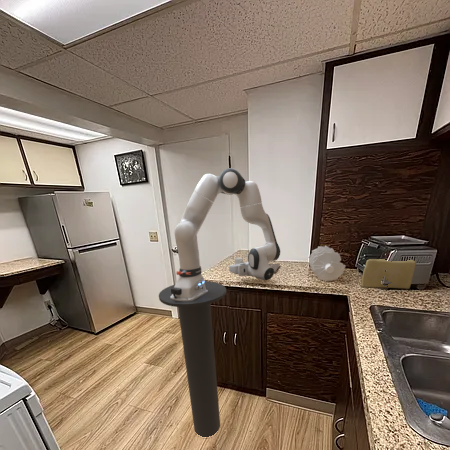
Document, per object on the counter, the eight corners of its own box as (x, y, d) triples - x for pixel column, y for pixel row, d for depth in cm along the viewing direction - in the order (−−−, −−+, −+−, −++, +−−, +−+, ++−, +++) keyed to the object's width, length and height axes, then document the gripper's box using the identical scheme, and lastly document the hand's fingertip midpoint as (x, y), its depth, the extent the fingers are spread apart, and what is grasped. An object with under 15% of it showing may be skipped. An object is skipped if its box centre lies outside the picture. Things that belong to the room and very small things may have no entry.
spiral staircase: (319, 289, 146) (312, 274, 168) (350, 276, 140) (339, 263, 162) (308, 262, 140) (302, 251, 163) (339, 248, 135) (329, 239, 157)
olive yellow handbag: (364, 289, 130) (369, 261, 125) (358, 283, 139) (362, 257, 134) (410, 289, 127) (417, 261, 121) (401, 283, 136) (407, 256, 130)
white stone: (241, 273, 152) (241, 259, 149) (234, 273, 154) (233, 258, 151) (244, 271, 157) (243, 257, 153) (236, 271, 158) (236, 257, 155)
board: (274, 273, 167) (274, 271, 167) (246, 271, 174) (246, 269, 173) (279, 266, 184) (279, 264, 184) (253, 265, 191) (253, 263, 191)
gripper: (265, 260, 147) (251, 256, 158) (237, 265, 137) (224, 261, 148) (265, 270, 149) (251, 266, 160) (237, 276, 140) (224, 271, 151)
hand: (238, 264), depth 154 cm, fingers closed on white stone, 5 cm apart
